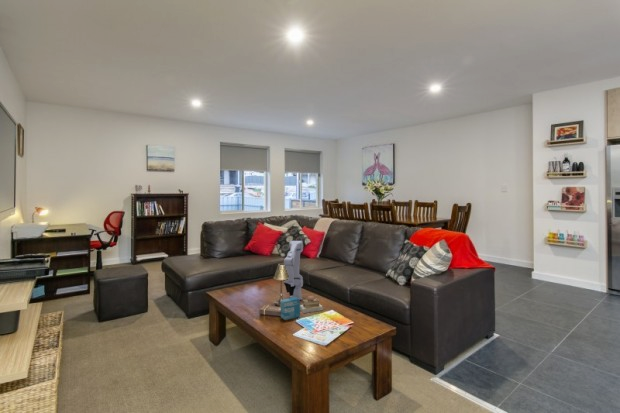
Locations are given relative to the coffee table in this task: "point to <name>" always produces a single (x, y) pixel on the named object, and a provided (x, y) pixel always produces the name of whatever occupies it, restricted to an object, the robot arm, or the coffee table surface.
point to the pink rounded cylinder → (310, 298)
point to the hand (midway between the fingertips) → (289, 293)
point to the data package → (290, 308)
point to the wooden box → (311, 303)
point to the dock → (312, 309)
